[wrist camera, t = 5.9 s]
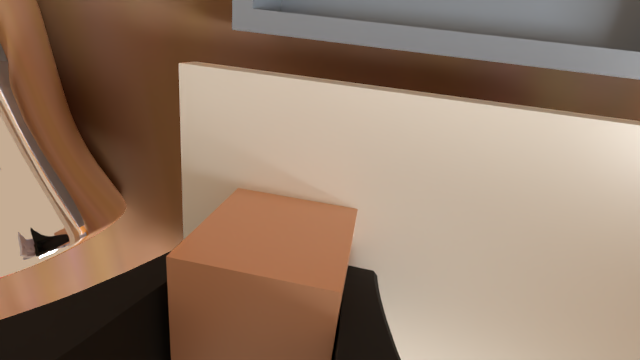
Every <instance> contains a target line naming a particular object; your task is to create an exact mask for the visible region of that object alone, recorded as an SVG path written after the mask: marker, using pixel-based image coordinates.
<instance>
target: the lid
mask: <svg viewBox="0 0 640 360" xmlns="http://www.w3.org/2000/svg"><path fill="white" fill-rule="evenodd" d="M179 96H180V133H181V170H182V206H183V241H182V242H181V243H180V244H179V245H178V246H177V247H176V248H175V249H173V250H172V251H171V252H170V253H169V254H168V255H167V256H166V266H167V287H168V308H169V329H170V350H171V360H332V356H333V350H334V344H335V338H336V331H337V325H338V319H339V313H340V307H341V301H342V295H343V289H344V284H345V279H346V274H347V269H348V265H349V266H354V267H359V268H363V269H368V270H373V271H374V272H375V273H376V275H377V279H378V287H379V292H380V297H381V301H382V305H383V308H384V312H385V315H386V319H387V322H388V325H389V328H390V331H391V334H392V337H393V340H394V343H395V346H396V348H397V351H398V353H399V356H400V359H401V360H640V121H636V120H629V119H621V118H614V117H606V116H599V115H591V114H584V113H576V112H569V111H562V110H554V109H547V108H539V107H532V106H524V105H517V104H509V103H502V102H494V101H487V100H479V99H472V98H465V97H457V96H450V95H442V94H435V93H427V92H420V91H412V90H405V89H397V88H390V87H382V86H375V85H368V84H360V83H353V82H345V81H338V80H330V79H323V78H315V77H308V76H300V75H293V74H285V73H278V72H271V71H263V70H256V69H248V68H241V67H233V66H226V65H218V64H211V63H203V62H196V61H195V62H184V63H179Z"/></svg>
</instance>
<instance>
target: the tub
mask: <svg viewBox="0 0 640 360" xmlns="http://www.w3.org/2000/svg"><path fill="white" fill-rule="evenodd" d="M232 30H238V31H246V32H255V33H263V34H271V35H279V36H287V37H295V38H304V39H312V40H320V41H328V42H336V43H344V44H353V45H361V46H369V47H377V48H385V49H393V50H402V51H410V52H418V53H426V54H434V55H442V56H451V57H459V58H467V59H475V60H483V61H491V62H500V63H508V64H516V65H524V66H532V67H540V68H549V69H557V70H565V71H573V72H581V73H589V74H597V75H606V76H614V77H622V78H630V79H638V80H640V0H232Z"/></svg>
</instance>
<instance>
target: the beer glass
mask: <svg viewBox="0 0 640 360" xmlns="http://www.w3.org/2000/svg"><path fill="white" fill-rule="evenodd" d="M125 210H126V202H125V201H124V199H123V197H122V196H121V194H120V193H119V191H118V190H117V189H116V187H115V186H114V185H113V183H112V182H111V181H110V179H109V178H108V177H107V176H106V174H105V173H104V172H103V170H102V169H101V168H100V166H99V165H98V164H97V162H96V161H95V159H94V158H93V156H92V155H91V153H90V152H89V150H88V148H87V146H86V145H85V143H84V141H83V139H82V137H81V135H80V134H79V131H78V129H77V127H76V124H75V122H74V120H73V117H72V115H71V113H70V110H69V107H68V104H67V101H66V97H65V94H64V91H63V88H62V85H61V81H60V78H59V74H58V71H57V67H56V64H55V60H54V56H53V53H52V49H51V46H50V42H49V39H48V36H47V32H46V29H45V25H44V22H43V18H42V15H41V12H40V8H39V6H38V3H37V0H0V278H2V277H5V276H8V275H11V274H14V273H17V272H19V271H22V270H25V269H27V268H30V267H32V266H35V265H37V264H40V263H42V262H44V261H47V260H49V259H51V258H53V257H55V256H58V255H60V254H62V253H64V252H66V251H68V250H70V249H72V248H74V247H76V246H78V245H80V244H81V243H83V242H85V241H87V240H89V239H90V238H92V237H94V236H95V235H97V234H99V233H100V232H102V231H103V230H105V229H106V228H108V227H109V226H110V225H112V224H113V223H114V222H116V221H117V220H118V219H119V218H120V217H121V216H122V215H123V214H124V212H125Z"/></svg>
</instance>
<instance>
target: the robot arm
mask: <svg viewBox="0 0 640 360" xmlns="http://www.w3.org/2000/svg"><path fill="white" fill-rule="evenodd" d="M170 252H171V251H170ZM170 252H168V253H166V254H164V255H162V256H160V257H157V258H155V259H153V260H151V261H149V262H147V263H145V264H142V265H140V266H138V267H136V268H134V269H132V270H130V271H127V272H125V273H123V274H120V275H118V276H116V277H113V278H111V279H109V280H106V281H104V282H101V283H99V284H97V285H94V286H92V287H90V288H87V289H85V290H83V291H80V292H78V293H75V294H73V295H70V296H68V297H65V298H62V299H60V300H57V301H54V302H52V303H49V304H46V305H43V306H40V307H37V308H34V309H32V310H29V311H26V312H23V313H20V314H17V315H14V316H11V317H8V318H5V319H2V320H0V360H171V350H170V329H169V308H168V287H167V266H166V256H167V255H168V254H169V253H170ZM332 360H401V359H400V356H399V353H398V351H397V348H396V346H395V343H394V340H393V337H392V334H391V331H390V328H389V325H388V322H387V319H386V315H385V312H384V308H383V305H382V301H381V297H380V292H379V287H378V279H377V275H376V273H375V272H374V271H373V270H368V269H363V268H359V267H354V266H349V265H348V269H347V274H346V279H345V284H344V289H343V295H342V301H341V307H340V313H339V319H338V325H337V331H336V338H335V344H334V350H333V356H332Z"/></svg>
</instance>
